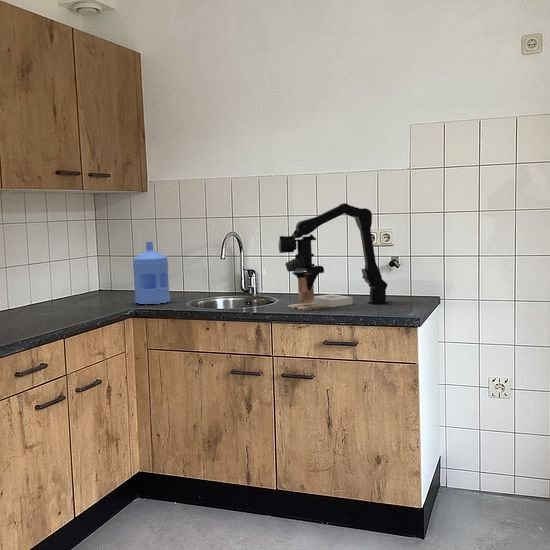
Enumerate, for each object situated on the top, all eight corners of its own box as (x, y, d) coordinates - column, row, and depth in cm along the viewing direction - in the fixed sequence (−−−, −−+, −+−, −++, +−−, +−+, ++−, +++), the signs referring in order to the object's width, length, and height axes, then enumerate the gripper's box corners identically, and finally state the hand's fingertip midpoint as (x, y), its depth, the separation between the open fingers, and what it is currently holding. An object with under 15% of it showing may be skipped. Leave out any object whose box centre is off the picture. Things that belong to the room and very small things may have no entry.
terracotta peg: (314, 301, 271) (313, 277, 270) (305, 303, 268) (304, 278, 267) (307, 300, 275) (306, 276, 274) (298, 301, 272) (297, 277, 271)
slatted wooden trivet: (325, 307, 269) (325, 305, 269) (305, 310, 264) (305, 308, 263) (307, 304, 280) (307, 302, 280) (287, 307, 275) (287, 305, 274)
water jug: (129, 303, 305) (126, 242, 302) (160, 299, 314) (157, 240, 311) (144, 306, 292) (140, 243, 289) (176, 302, 302) (172, 241, 299)
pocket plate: (352, 304, 275) (352, 297, 275) (331, 307, 270) (331, 299, 269) (332, 301, 287) (332, 294, 287) (311, 303, 281) (311, 296, 281)
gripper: (275, 252, 273) (277, 289, 275) (301, 254, 257) (302, 293, 259) (298, 250, 279) (299, 287, 280) (324, 252, 263) (325, 290, 265)
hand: (305, 289), depth 271 cm, fingers closed on terracotta peg, 4 cm apart
